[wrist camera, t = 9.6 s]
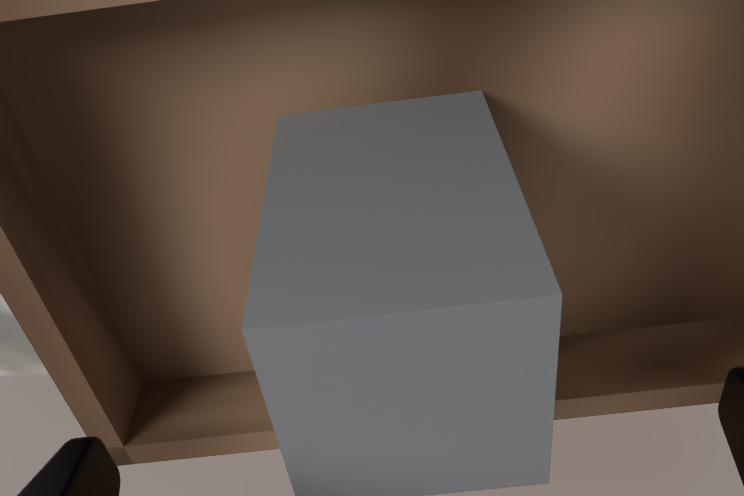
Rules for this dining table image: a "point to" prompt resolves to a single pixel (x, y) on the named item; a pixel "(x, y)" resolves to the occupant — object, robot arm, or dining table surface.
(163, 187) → the walnut tray
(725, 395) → the robot arm
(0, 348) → the dining table surface
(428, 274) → the slate stone block
